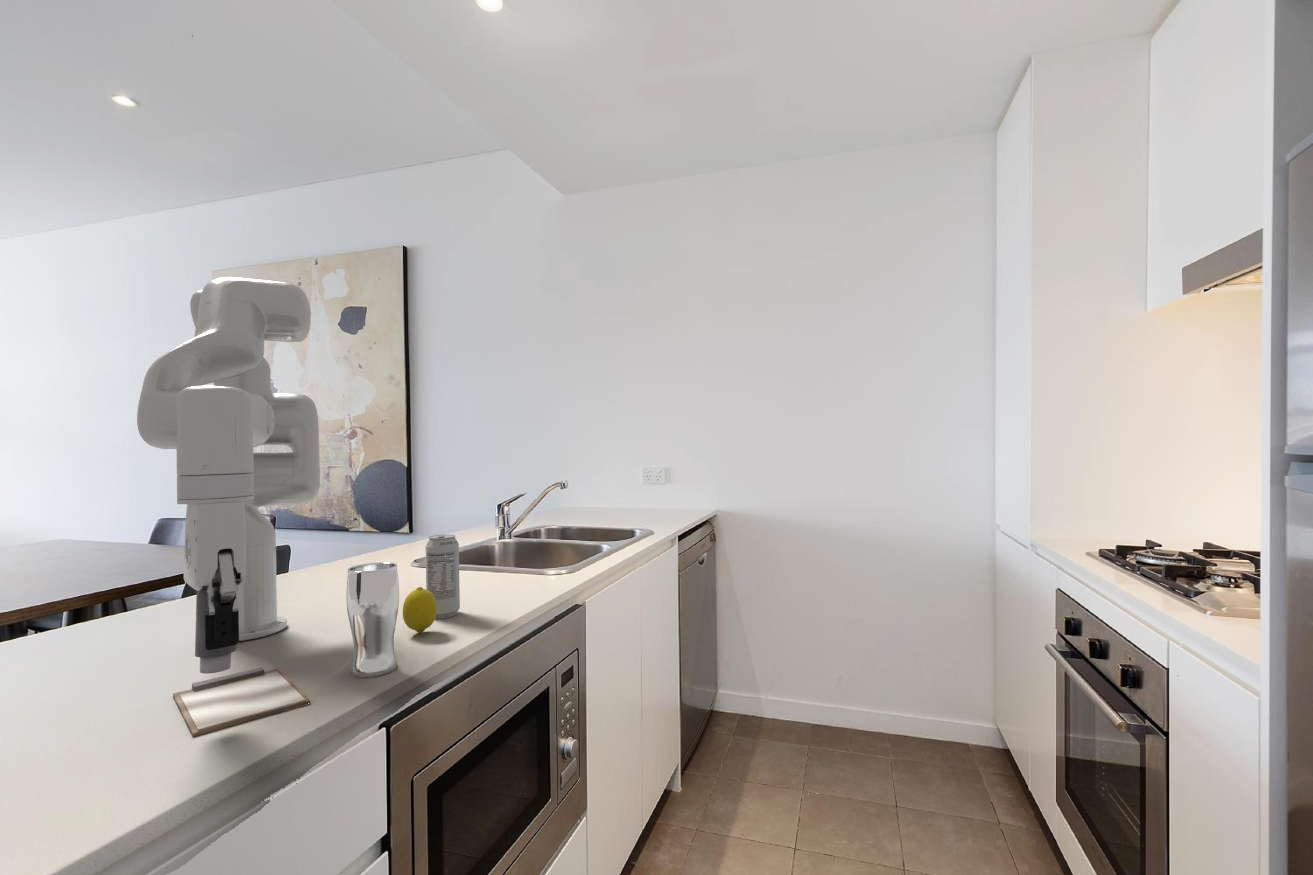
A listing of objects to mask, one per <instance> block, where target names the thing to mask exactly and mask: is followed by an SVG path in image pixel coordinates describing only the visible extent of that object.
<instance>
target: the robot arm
mask: <svg viewBox="0 0 1313 875" xmlns="http://www.w3.org/2000/svg"><path fill="white" fill-rule="evenodd" d="M189 306H190V313H191V314H190V315H191V317H192V321H193V325H194V327H195V330H194V337H193V338H190V339H188V340H186V341H184V342H182V343H180V344H178V345H176V346H175V347H173V348H172V349H169V350H168V351H166V352H165V353H164V354H162V355H161V356H159V357H158V358H156V360H155V361H154V362H153V363H151V365H150V366H149V368H148V370H147V371H146V373H145V375H144V380H143V382H142V386H141V387H142V388H141V391H140V395H139V400H138V405H137V411H136V412H137V414H136V426H137V429H138V433H139V435H140V438H141V439H142V440H143V441H144V442H145V443H146V444H147V445H149V446H150V447H153V448H156V449H160V450H161V449H163V450H176V503H177V504H176V505H187V506H186V513H185V522H184V523H185V526H184V552H183V554H184V559H183V580H184V582H185V583H186V584H187V585H188V586H189V587H191V588H192V589H193V590H195V591H196V592H197V591H201V590H202V587H203V586H207V605H208V615H205V648H206V649H207V650H214V649H219V648H224V647H229V646H233V645H236V646H237V645H238V644H239V642H243V641H249V640H254V639H259V638H263V637H268V636H270V635H274V634H275V633H276V634H277V633H278V632H280V631H282V630H284V629H285V628H287V626H288V619H287V618H286V617H284V616H280V615H278V605H277V604H278V603H277V602H278V600H277V598H278V596H277V594H278V593H277V592H278V591H277V589H278V588H277V584H278V583H277V535H276V530H275V527H274V525H273V523H272V522H271V521H270V520H269V519H268V518H267V517H266V516H265V515H263V514H262V512H260V511H259V510H258V508H260V507H267V506H269V507H270V506H283V505H284V506H285V505H288V506H289V505H299V504H300V505H301V504H307V503H311V502H312V501H314V500H315V499H317V497H318V495H319V492H320V487H321V474H320V473H321V469H320V468H321V465H320V428H319V427H320V426H319V425H320V424H319V415H318V410H317V407H316V404H315V402H314V400H313V399H312V398H311V397H309V396H308V395H305V394H302V393H292V392H291V393H290V392H289V393H285V392H273V390H272V388H271V387H272V386H271V385H272V384H271V366H270V364H269V362H268V361H267V359H266V358H265V357H264V354H265V341H267V342H284V343H285V342H286V343H300V342H303V341H305V339H306V338H308V335H309V333H310V329H311V320H312V318H311V317H312V315H311V314H312V311H311V304H310V300H309V298H308V296H307V294H306V293H305V291H304V290H303V289H302V288H301V287H300V286H298V285H295V284H294V283H290V282H286V281H285V282H284V281H275V280H266V279H257V278H256V279H254V278H245V277H235V276H233V277H232V276H229V277H228V276H227V277H226V276H225V277H218V278H215V279H212V280H211V281H209V282H208V283H206V284H205V285H204V286H203V288H202V289H200V290H197V291H196V292H194V293H193V294H192V295H191V298H190V302H189ZM209 384H213V385H209ZM260 446H287V447H289V448H290V449H291V451H292V452H291V451H290V452H289V451H288V452H254V448H257V447H260ZM236 570H237V572H238V576H236ZM236 580H237V581H236ZM216 581H220V586H218V587H212V582H216ZM237 585H238V594H237ZM214 592H220V593H218V594H216V597H214ZM214 600H215V601H214Z"/></svg>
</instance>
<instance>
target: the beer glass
mask: <svg viewBox="0 0 1313 875" xmlns="http://www.w3.org/2000/svg"><path fill="white" fill-rule="evenodd" d="M346 578H347V579H346V596H345V597H346V610H347V616H348V622H349V628H350V631H351V636H352V641H353V658H352V664H351V669H350V674H351V675H352V676H353V677H355V678H361V679H362V678H366V679H367V678H374V677H375V678H376V677H380V676H384V675H388V674H389V673H391V672H393V671H394V670H396V668H397V667H398V664H397V659H396V658H397V657H396V652H395V644H394V642H395V640H394V639H395V631H396V625H397V620H398V612H399V604H400V587H399V586H400V585H399V574H398V564H397V563H396V562H395V563H394V562H389V561H388V562H387V561H385V562H384V561H382V562H381V561H380V562H370V563H369V562H368V563H362V564H357V565H353V566H351V567H349V568H347V577H346Z"/></svg>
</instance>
